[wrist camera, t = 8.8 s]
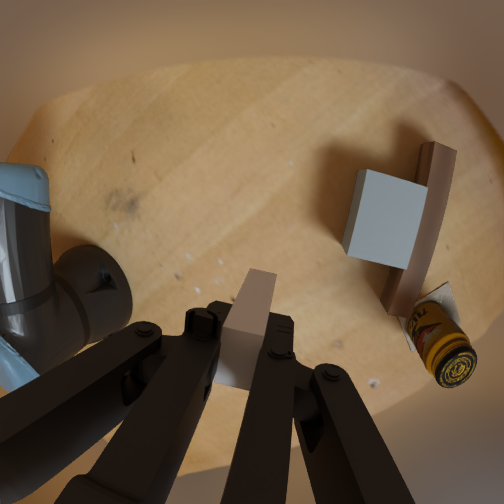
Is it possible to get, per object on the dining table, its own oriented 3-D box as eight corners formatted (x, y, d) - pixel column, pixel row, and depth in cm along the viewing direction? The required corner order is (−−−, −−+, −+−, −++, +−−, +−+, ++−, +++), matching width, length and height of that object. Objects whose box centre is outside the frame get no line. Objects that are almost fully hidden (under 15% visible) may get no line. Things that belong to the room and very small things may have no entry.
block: (341, 244, 34) (347, 255, 29) (358, 169, 31) (367, 169, 26) (393, 256, 33) (406, 269, 28) (411, 185, 30) (428, 187, 26)
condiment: (395, 312, 35) (425, 365, 23) (448, 281, 32) (493, 322, 21) (411, 351, 35) (437, 406, 24) (459, 322, 33) (498, 368, 22)
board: (380, 300, 34) (387, 314, 31) (421, 144, 29) (435, 141, 25) (400, 304, 34) (409, 318, 30) (441, 152, 28) (456, 150, 25)
